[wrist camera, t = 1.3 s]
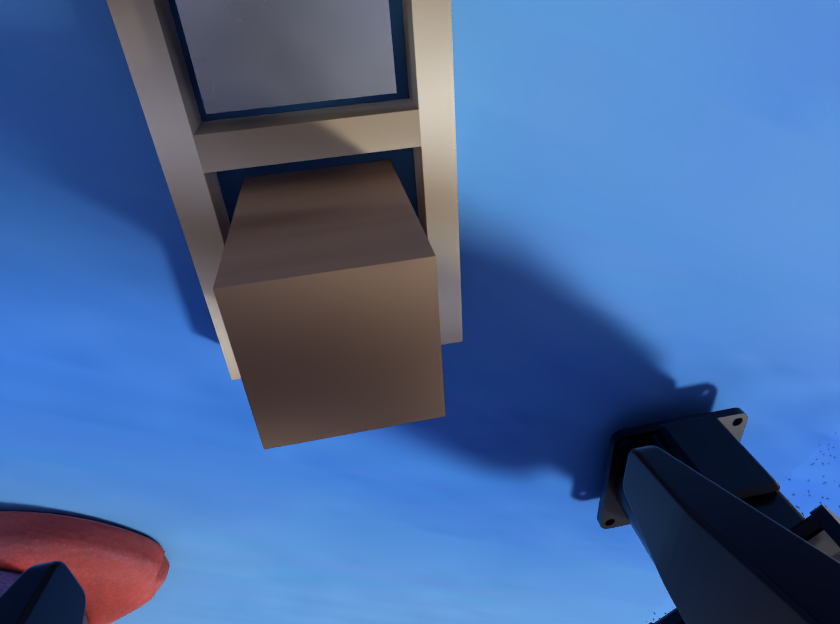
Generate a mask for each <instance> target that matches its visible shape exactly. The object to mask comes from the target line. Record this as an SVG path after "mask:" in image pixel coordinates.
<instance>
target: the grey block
mask: <svg viewBox="0 0 840 624" xmlns="http://www.w3.org/2000/svg"><path fill="white" fill-rule="evenodd" d="M175 1H176V5H177V9H178V12H179V16H180V20H181V23H182V27H183V31H184V34H185V38H186V42H187V45H188V49H189V53H190V57H191V60H192V64H193V68H194V71H195V75H196V79H197V82H198V86H199V90H200V93H201V97H202V101H203V104H204V108H205V112H206V114H212V113H221V112H230V111H239V110H248V109H257V108H266V107H275V106H284V105H293V104H302V103H311V102H320V101H329V100H338V99H347V98H356V97H365V96H374V95H383V94H392V93H397V90H396V79H395V68H394V56H393V45H392V34H391V22H390V11H389V0H175Z"/></svg>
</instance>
